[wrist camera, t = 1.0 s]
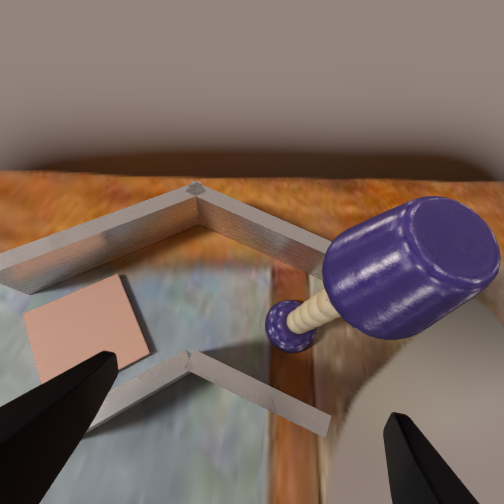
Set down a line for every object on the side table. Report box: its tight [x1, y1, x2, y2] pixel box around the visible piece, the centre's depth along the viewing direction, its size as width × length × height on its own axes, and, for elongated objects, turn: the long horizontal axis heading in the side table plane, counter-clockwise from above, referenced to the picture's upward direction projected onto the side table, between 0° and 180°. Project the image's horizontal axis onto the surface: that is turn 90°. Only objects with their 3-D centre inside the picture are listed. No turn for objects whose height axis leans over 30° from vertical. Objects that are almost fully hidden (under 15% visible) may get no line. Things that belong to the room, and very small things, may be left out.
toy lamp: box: [265, 196, 500, 353], centre depth 15 cm, size 5×5×17 cm
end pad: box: [23, 274, 151, 384], centre depth 20 cm, size 7×7×1 cm
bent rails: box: [0, 181, 332, 438], centre depth 20 cm, size 18×27×4 cm
